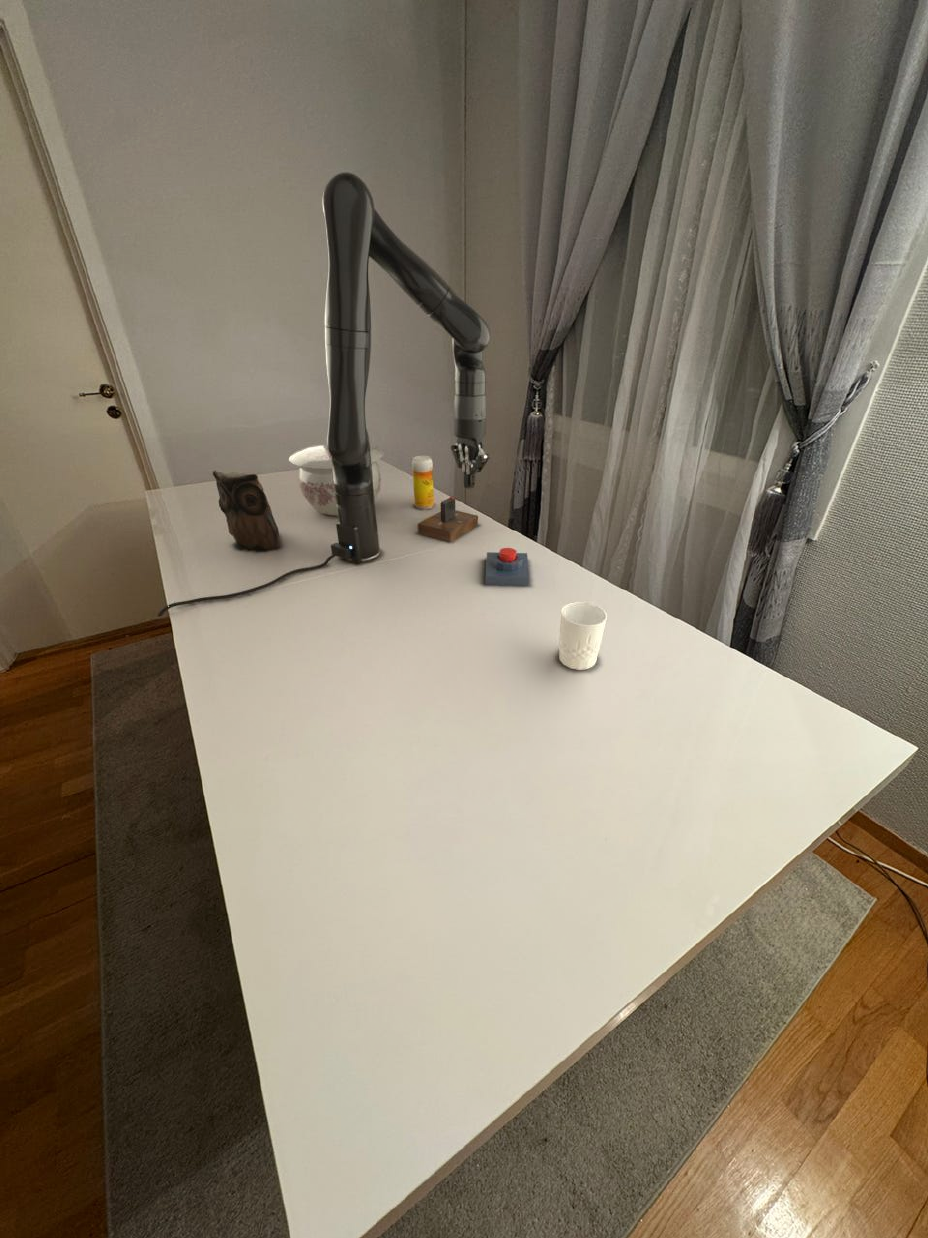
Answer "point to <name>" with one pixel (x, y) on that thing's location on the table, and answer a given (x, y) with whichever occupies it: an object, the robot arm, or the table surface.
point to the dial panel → (448, 526)
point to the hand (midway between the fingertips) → (469, 487)
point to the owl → (247, 511)
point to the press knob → (507, 554)
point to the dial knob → (448, 509)
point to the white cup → (581, 634)
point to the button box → (507, 570)
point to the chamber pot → (325, 476)
